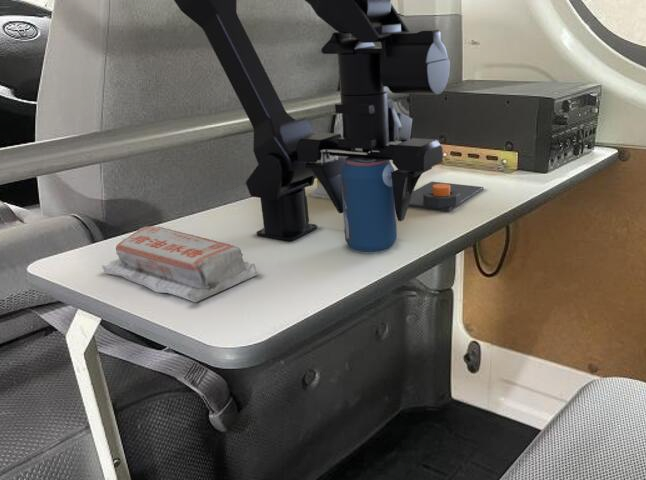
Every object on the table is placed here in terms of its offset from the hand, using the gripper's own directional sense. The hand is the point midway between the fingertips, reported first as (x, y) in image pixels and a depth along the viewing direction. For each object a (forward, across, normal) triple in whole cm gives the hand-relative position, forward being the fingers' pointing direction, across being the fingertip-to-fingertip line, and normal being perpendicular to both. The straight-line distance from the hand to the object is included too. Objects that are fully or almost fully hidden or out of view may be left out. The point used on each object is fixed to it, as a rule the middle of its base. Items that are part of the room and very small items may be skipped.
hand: (371, 216), depth 83 cm
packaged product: (+4, +17, +19) cm, 25 cm away
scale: (+4, +2, -25) cm, 25 cm away
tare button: (+2, 0, -20) cm, 21 cm away
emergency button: (+4, +16, -21) cm, 27 cm away
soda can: (+4, 0, 0) cm, 5 cm away
